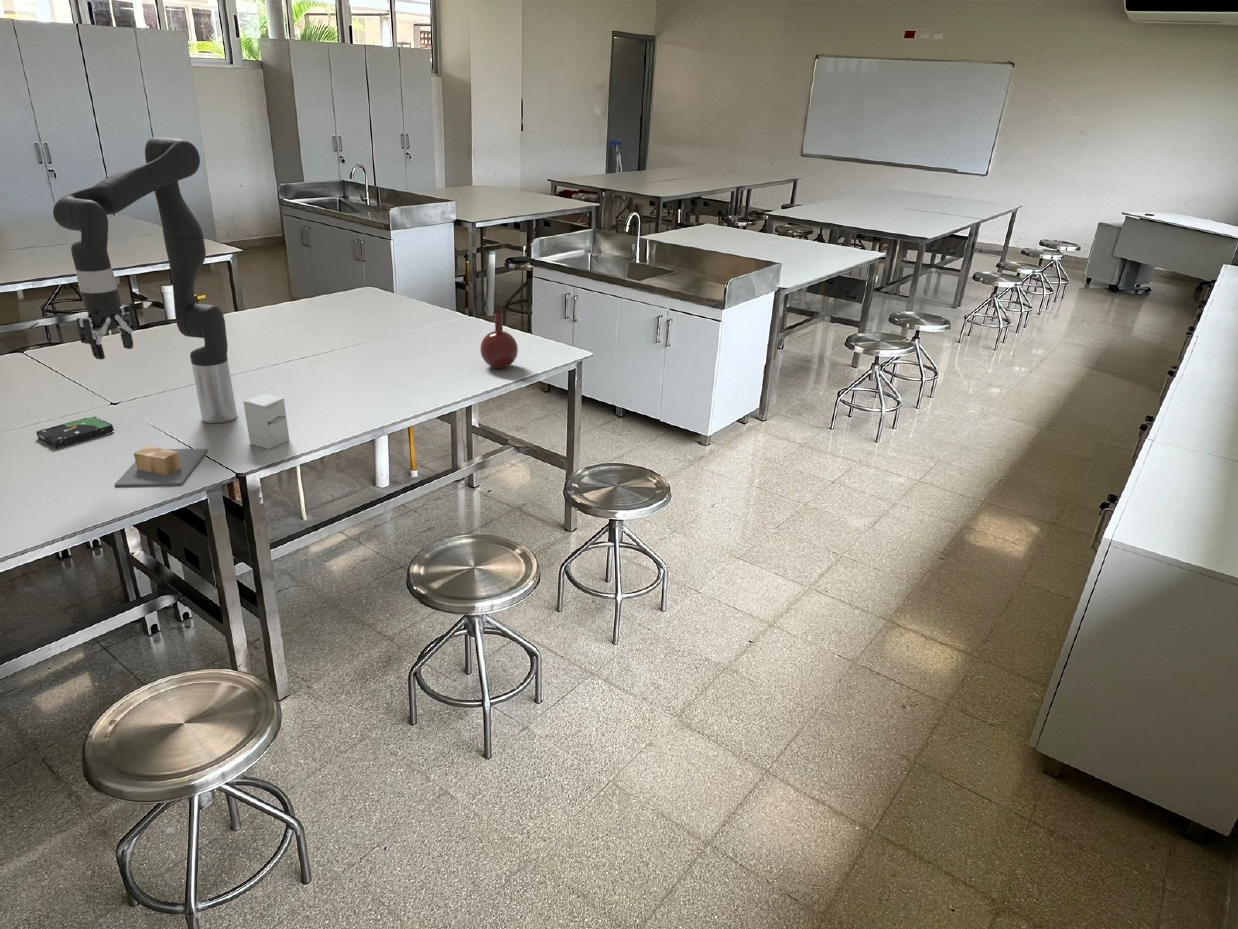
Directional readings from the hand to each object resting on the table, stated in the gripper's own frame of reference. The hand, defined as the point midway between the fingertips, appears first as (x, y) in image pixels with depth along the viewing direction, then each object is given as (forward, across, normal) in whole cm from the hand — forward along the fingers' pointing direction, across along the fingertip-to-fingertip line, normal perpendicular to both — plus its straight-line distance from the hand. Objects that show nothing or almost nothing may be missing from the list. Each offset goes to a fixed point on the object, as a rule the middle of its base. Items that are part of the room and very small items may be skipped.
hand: (114, 353), depth 193 cm
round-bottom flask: (+30, +101, -58) cm, 120 cm away
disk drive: (+29, +4, +25) cm, 38 cm away
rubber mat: (+28, -4, -10) cm, 30 cm away
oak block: (+25, -5, -6) cm, 26 cm away
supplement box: (+28, +19, -25) cm, 42 cm away
